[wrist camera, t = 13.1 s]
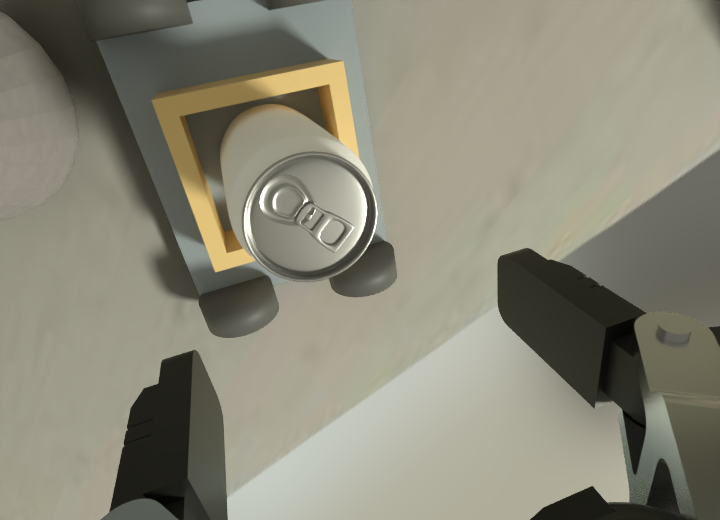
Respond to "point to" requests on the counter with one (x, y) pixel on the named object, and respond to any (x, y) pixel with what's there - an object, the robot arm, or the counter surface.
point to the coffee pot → (32, 123)
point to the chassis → (216, 112)
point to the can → (295, 194)
